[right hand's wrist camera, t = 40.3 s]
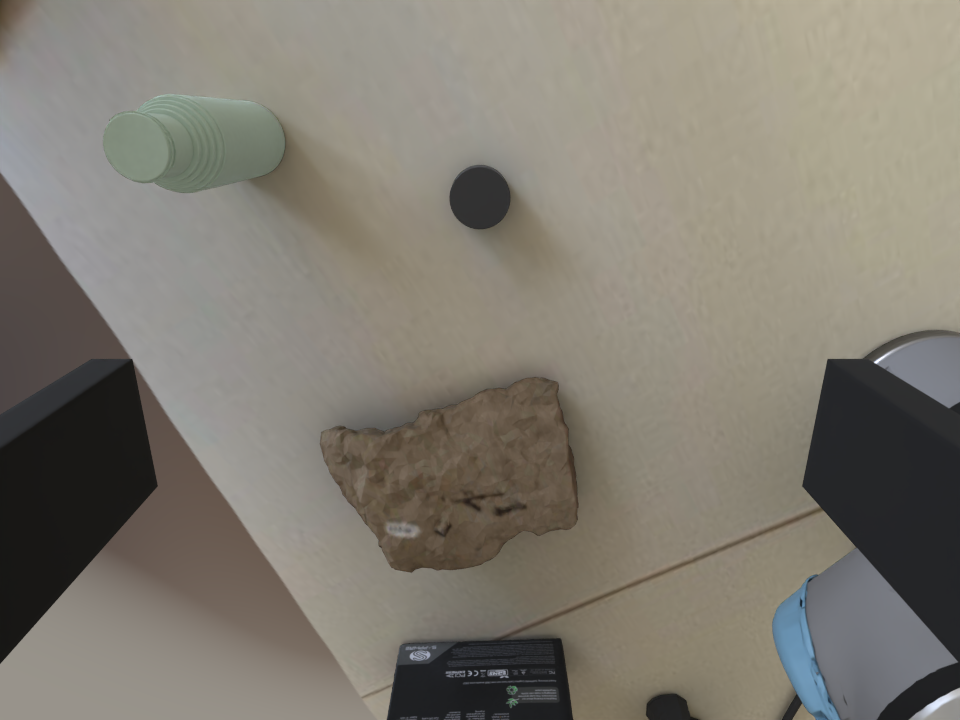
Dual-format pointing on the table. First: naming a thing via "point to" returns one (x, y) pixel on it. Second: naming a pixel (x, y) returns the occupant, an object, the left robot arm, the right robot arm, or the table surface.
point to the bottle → (194, 142)
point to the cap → (479, 197)
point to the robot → (668, 708)
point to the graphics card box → (481, 681)
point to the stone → (460, 476)
